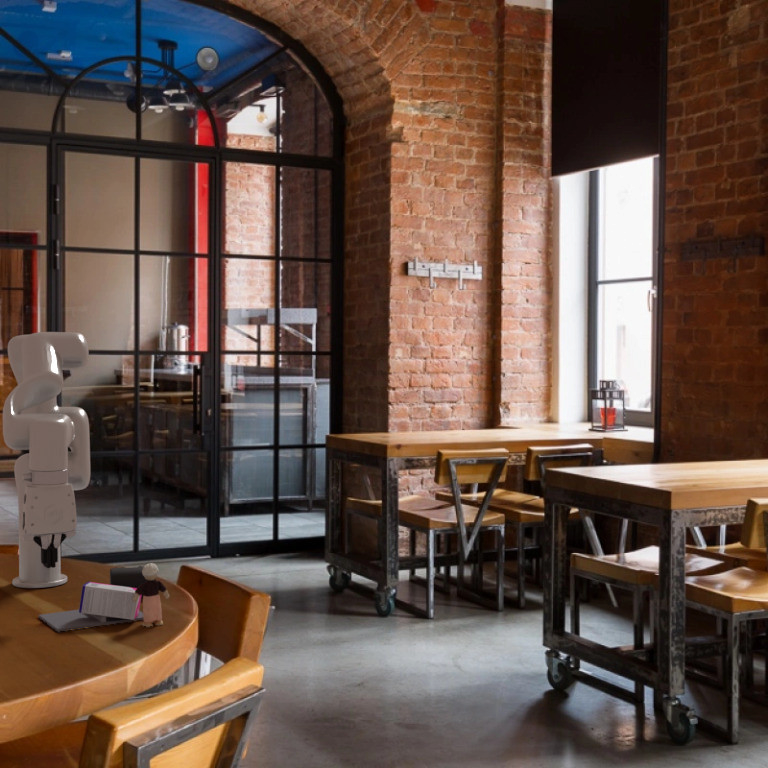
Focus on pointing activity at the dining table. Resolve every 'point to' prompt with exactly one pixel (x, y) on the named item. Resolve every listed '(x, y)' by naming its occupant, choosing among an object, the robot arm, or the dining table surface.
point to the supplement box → (109, 601)
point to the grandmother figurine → (151, 596)
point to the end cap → (127, 577)
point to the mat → (80, 620)
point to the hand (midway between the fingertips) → (49, 566)
